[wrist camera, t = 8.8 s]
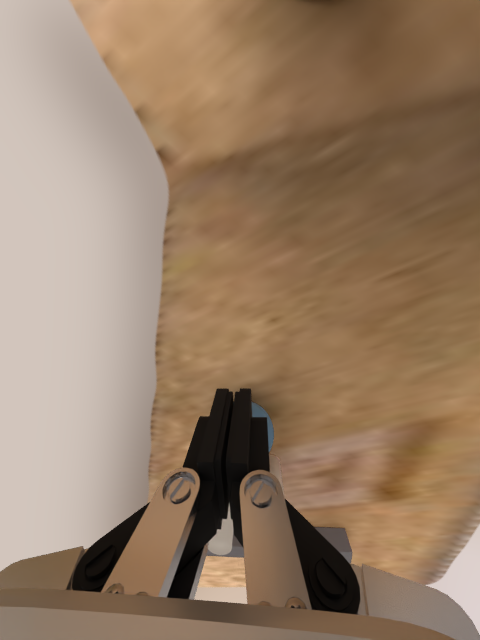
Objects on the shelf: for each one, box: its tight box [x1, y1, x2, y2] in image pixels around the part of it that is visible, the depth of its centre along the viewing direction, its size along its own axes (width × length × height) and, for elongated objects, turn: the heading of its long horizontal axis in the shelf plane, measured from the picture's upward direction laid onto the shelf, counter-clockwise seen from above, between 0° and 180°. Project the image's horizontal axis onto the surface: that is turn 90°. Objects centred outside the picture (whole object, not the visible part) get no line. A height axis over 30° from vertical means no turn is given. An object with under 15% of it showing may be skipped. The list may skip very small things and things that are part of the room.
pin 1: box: [208, 505, 233, 555], centre depth 24 cm, size 2×2×8 cm
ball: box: [252, 402, 274, 452], centre depth 23 cm, size 6×6×6 cm
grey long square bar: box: [206, 527, 352, 563], centre depth 30 cm, size 2×24×2 cm, turn 93°
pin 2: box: [269, 455, 284, 494], centre depth 24 cm, size 2×2×8 cm
